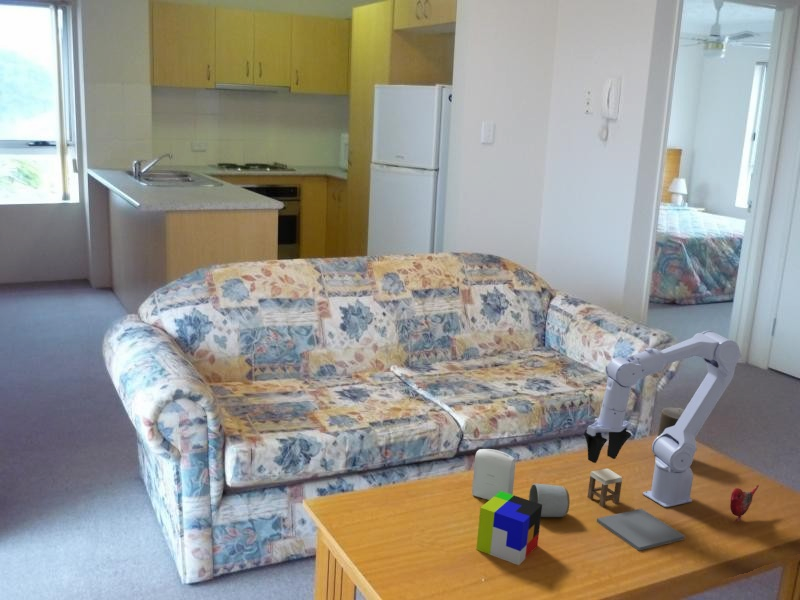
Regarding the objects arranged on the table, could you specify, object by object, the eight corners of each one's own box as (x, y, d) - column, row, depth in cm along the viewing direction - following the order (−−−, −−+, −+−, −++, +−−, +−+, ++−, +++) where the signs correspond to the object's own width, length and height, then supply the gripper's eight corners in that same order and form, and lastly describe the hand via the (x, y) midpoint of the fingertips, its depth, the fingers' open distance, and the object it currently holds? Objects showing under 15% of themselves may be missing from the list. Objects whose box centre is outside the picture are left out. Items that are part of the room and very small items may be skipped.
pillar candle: (656, 463, 231) (665, 413, 227) (652, 449, 240) (660, 400, 236) (692, 468, 229) (701, 417, 226) (686, 454, 239) (695, 405, 235)
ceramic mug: (569, 522, 194) (572, 492, 192) (535, 522, 193) (538, 492, 191) (555, 502, 204) (558, 473, 202) (523, 501, 203) (526, 472, 201)
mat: (640, 511, 202) (641, 508, 202) (684, 539, 190) (685, 536, 190) (596, 521, 195) (596, 518, 195) (638, 550, 183) (639, 547, 183)
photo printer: (468, 495, 204) (473, 449, 201) (475, 489, 208) (479, 443, 205) (508, 507, 199) (513, 459, 197) (514, 500, 203) (519, 453, 200)
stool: (604, 493, 210) (607, 468, 208) (618, 503, 205) (622, 477, 204) (587, 497, 207) (590, 471, 206) (602, 507, 203) (605, 480, 201)
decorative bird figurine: (720, 528, 196) (727, 489, 194) (748, 505, 209) (755, 468, 207) (732, 533, 194) (739, 493, 192) (760, 509, 207) (767, 472, 205)
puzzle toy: (518, 565, 174) (523, 522, 172) (476, 549, 179) (480, 507, 177) (537, 546, 183) (542, 504, 180) (496, 531, 188) (500, 491, 185)
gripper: (618, 398, 207) (606, 449, 210) (582, 403, 198) (570, 456, 201) (642, 409, 202) (629, 460, 205) (605, 414, 193) (593, 468, 196)
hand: (601, 459), depth 202 cm, fingers open, 7 cm apart
